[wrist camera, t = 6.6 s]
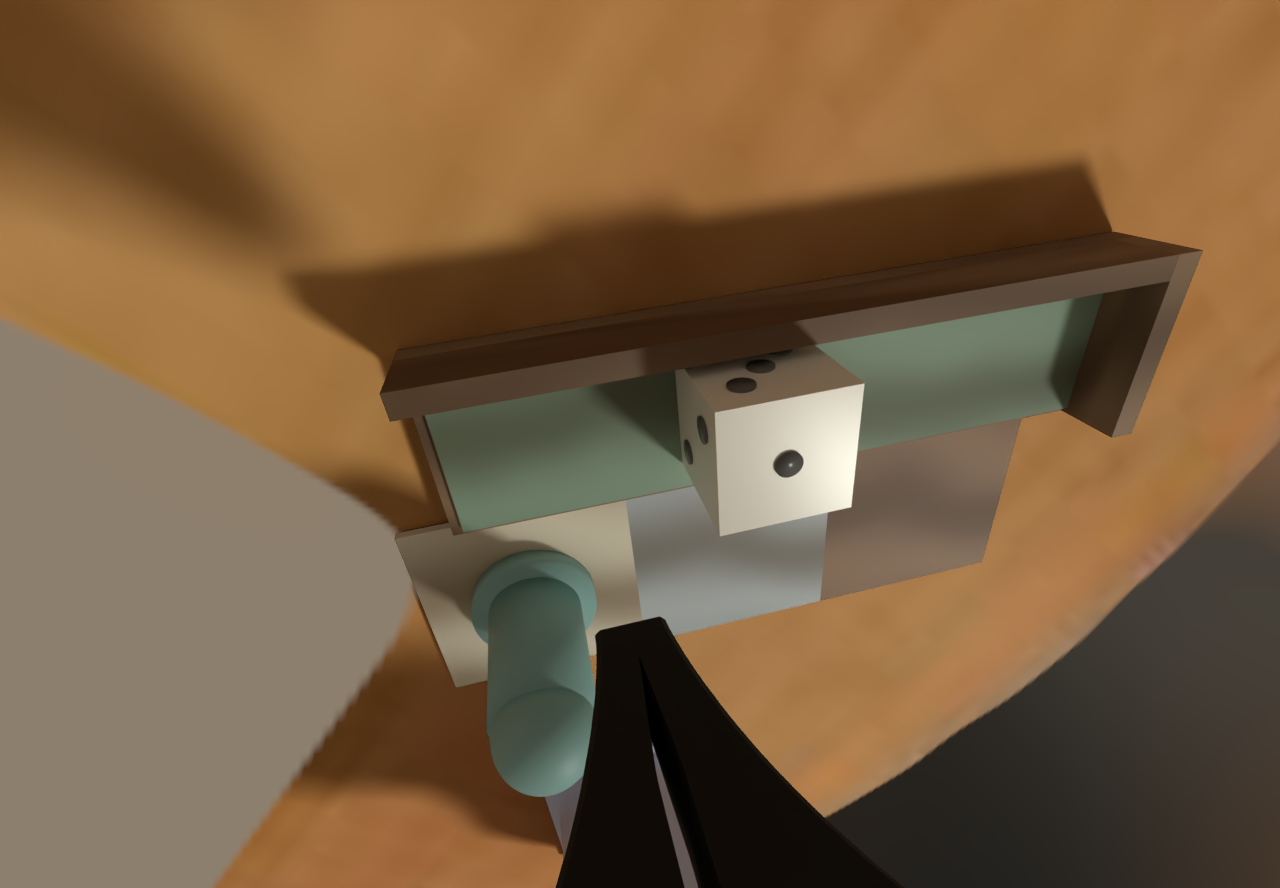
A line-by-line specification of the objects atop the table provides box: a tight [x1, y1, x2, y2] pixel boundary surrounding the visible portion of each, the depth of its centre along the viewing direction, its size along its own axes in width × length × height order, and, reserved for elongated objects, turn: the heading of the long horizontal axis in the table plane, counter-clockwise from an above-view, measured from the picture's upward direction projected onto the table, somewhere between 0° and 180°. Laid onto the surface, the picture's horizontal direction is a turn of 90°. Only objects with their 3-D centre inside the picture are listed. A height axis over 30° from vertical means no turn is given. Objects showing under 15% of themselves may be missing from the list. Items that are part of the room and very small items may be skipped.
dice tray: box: [380, 232, 1203, 536], centre depth 19 cm, size 6×24×3 cm, turn 96°
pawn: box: [471, 550, 597, 797], centre depth 19 cm, size 5×5×7 cm
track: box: [395, 419, 1021, 688], centre depth 24 cm, size 8×24×1 cm, turn 96°
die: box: [675, 345, 865, 536], centre depth 17 cm, size 4×4×4 cm
